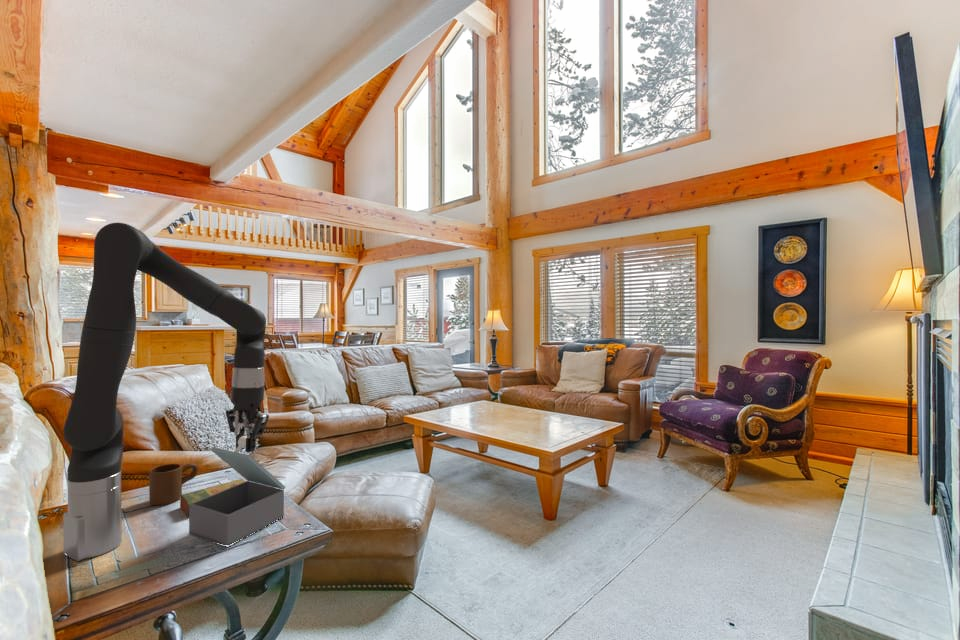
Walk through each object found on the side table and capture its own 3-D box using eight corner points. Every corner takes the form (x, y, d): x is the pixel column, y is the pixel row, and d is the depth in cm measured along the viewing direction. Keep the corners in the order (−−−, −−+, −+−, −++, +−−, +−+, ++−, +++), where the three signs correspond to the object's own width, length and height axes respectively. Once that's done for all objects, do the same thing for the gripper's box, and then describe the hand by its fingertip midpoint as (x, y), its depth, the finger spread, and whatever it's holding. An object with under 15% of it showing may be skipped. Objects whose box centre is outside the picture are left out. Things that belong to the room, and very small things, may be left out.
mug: (194, 487, 133) (194, 457, 132) (202, 495, 128) (202, 463, 128) (146, 500, 124) (146, 468, 123) (153, 509, 119) (153, 475, 118)
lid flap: (248, 458, 105) (263, 437, 109) (210, 449, 110) (226, 429, 114) (283, 489, 115) (297, 469, 119) (247, 480, 120) (261, 461, 124)
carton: (252, 500, 126) (252, 486, 126) (187, 519, 114) (187, 503, 114) (242, 491, 131) (242, 477, 131) (179, 508, 120) (179, 493, 120)
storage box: (227, 547, 100) (227, 516, 100) (189, 534, 106) (189, 504, 106) (283, 517, 115) (283, 490, 115) (247, 507, 121) (247, 480, 120)
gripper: (216, 383, 111) (213, 450, 111) (254, 388, 106) (251, 458, 106) (242, 380, 118) (240, 443, 118) (279, 385, 112) (276, 451, 112)
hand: (245, 450), depth 112 cm, fingers closed on lid flap, 3 cm apart
